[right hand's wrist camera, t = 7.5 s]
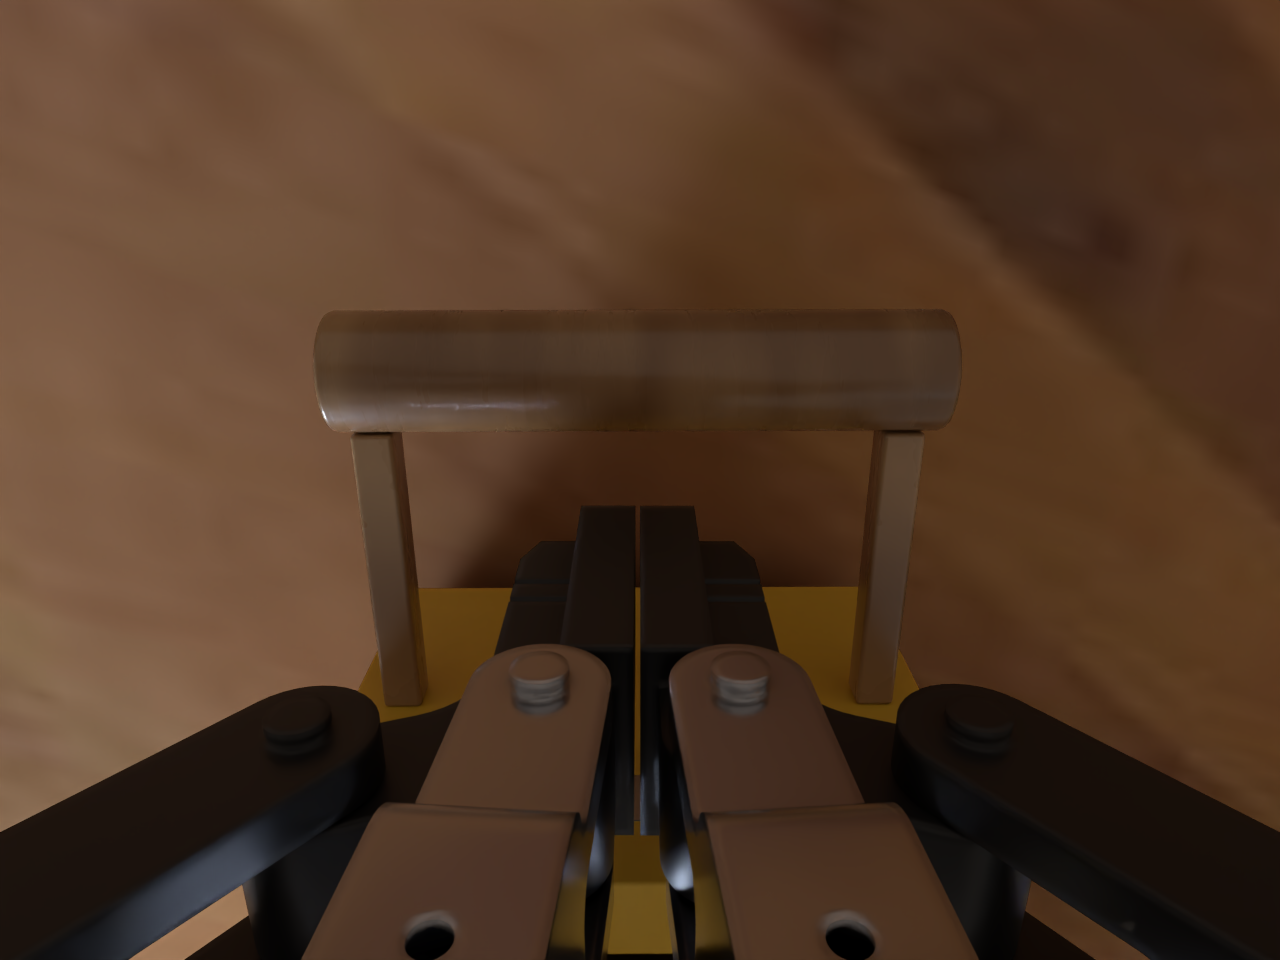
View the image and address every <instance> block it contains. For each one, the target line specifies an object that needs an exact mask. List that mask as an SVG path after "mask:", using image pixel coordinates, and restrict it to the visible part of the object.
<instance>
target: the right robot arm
mask: <svg viewBox="0 0 1280 960" xmlns="http://www.w3.org/2000/svg"><path fill="white" fill-rule="evenodd" d="M635 646H636V593H635V506H581V511H580V517H579V524H578V530H577V537H576V541H541V542H540V543H539V544H538V545H536V546H535V547H534V548H533V549H532V550H531V551H529V552H528V553H527V554H526V555H525V556H524V557H522V558H521V559H520V563H519V566H518V570H517V574H516V577H515V584H513V588H512V592H511V595H510V602H508V606H507V609H506V613H505V617H504V620H503V624H502V627H501V631H500V635H499V638H498V642H497V645H496V649H495V653H494V656H493V657H491V658H490V659H488V660H486V661H485V662H484V663H483V664H481V665H480V666H479V667H478V668H477V669H476V670H475V671H474V673H473V674H472V676H471V678H470V679H469V682H468V684H467V686H466V688H465V691H464V693H463V695H462V698H461V699H460V700H458V701H457V702H454V703H452V704H450V705H448V706H446V707H443V708H440V709H437V710H435V711H432V712H428V713H424V714H420V715H415V716H411V717H406V718H401V719H396V720H391V721H386V722H381V723H380V715H379V711H378V709H377V706H376V705H375V704H374V702H373V701H372V700H371V699H370V698H368V697H367V696H366V695H364V694H362V693H360V692H358V691H356V690H352V689H349V688H344V687H337V686H311V687H304V688H298V689H293V690H289V691H285V692H282V693H279V694H276V695H273V696H270V697H268V698H266V699H263V700H261V701H259V702H257V703H255V704H253V705H251V706H249V707H247V708H245V709H243V710H241V711H239V712H237V713H235V714H233V715H231V716H229V717H227V718H225V719H223V720H221V721H219V722H217V723H215V724H213V725H211V726H209V727H207V728H205V729H203V730H201V731H199V732H197V733H195V734H193V735H192V736H190V737H188V738H186V739H184V740H182V741H180V742H178V743H176V744H174V745H172V746H170V747H168V748H166V749H164V750H162V751H160V752H158V753H156V754H154V755H152V756H150V757H148V758H146V759H144V760H142V761H140V762H138V763H136V764H134V765H132V766H130V767H128V768H126V769H124V770H122V771H120V772H118V773H116V774H114V775H113V776H111V777H109V778H107V779H105V780H103V781H101V782H99V783H97V784H95V785H93V786H91V787H89V788H87V789H85V790H83V791H81V792H79V793H77V794H75V795H73V796H71V797H69V798H67V799H65V800H63V801H61V802H59V803H57V804H55V805H53V806H51V807H49V808H47V809H45V810H43V811H41V812H39V813H37V814H36V815H34V816H32V817H30V818H28V819H26V820H24V821H22V822H20V823H18V824H16V825H14V826H12V827H10V828H8V829H6V830H4V831H2V832H0V960H129V959H130V958H131V957H133V956H134V955H136V954H137V953H139V952H140V951H142V950H143V949H145V948H146V947H148V946H149V945H151V944H152V943H154V942H155V941H157V940H158V939H160V938H161V937H163V936H164V935H166V934H167V933H169V932H170V931H172V930H173V929H175V928H176V927H178V926H180V925H181V924H183V923H184V922H186V921H187V920H189V919H190V918H192V917H193V916H195V915H196V914H198V913H199V912H201V911H202V910H204V909H205V908H207V907H208V906H210V905H211V904H213V903H214V902H216V901H217V900H219V899H221V898H222V897H224V896H225V895H227V894H228V893H230V892H231V891H233V890H234V889H236V888H237V887H239V886H240V885H242V886H243V890H244V895H245V900H246V904H247V909H248V914H249V916H247V917H246V918H244V919H243V920H241V921H240V922H238V923H237V924H235V925H234V926H233V927H231V928H230V929H228V930H227V931H225V932H224V933H222V934H221V935H220V936H218V937H217V938H215V939H214V940H212V941H211V942H209V943H208V944H206V945H205V946H204V947H202V948H201V949H199V950H198V951H196V952H195V953H193V954H192V955H191V956H189V957H188V958H186V959H185V960H607V953H608V946H609V938H610V930H611V922H612V914H613V906H614V835H634V765H635ZM640 836H659V847H660V863H661V868H662V870H663V873H664V875H665V877H666V906H667V914H668V922H669V930H670V938H671V946H672V953H673V960H1095V959H1094V958H1092V957H1091V956H1089V955H1088V954H1087V953H1085V952H1084V951H1082V950H1081V949H1079V948H1078V947H1076V946H1075V945H1073V944H1072V943H1071V942H1069V941H1068V940H1066V939H1065V938H1063V937H1062V936H1060V935H1059V934H1058V933H1056V932H1055V931H1053V930H1052V929H1050V928H1049V927H1047V926H1046V925H1044V924H1043V923H1042V922H1040V921H1039V920H1037V919H1036V918H1034V917H1033V916H1031V915H1030V914H1029V913H1027V912H1026V911H1025V909H1026V904H1027V899H1028V894H1029V890H1030V885H1031V880H1032V881H1034V882H1035V883H1037V884H1038V885H1040V886H1041V887H1043V888H1044V889H1046V890H1047V891H1049V892H1050V893H1052V894H1053V895H1055V896H1056V897H1058V898H1059V899H1061V900H1062V901H1064V902H1066V903H1067V904H1069V905H1070V906H1072V907H1073V908H1075V909H1076V910H1078V911H1079V912H1081V913H1082V914H1084V915H1085V916H1087V917H1088V918H1090V919H1091V920H1093V921H1094V922H1096V923H1097V924H1099V925H1100V926H1102V927H1103V928H1105V929H1107V930H1108V931H1110V932H1111V933H1113V934H1114V935H1116V936H1117V937H1119V938H1120V939H1122V940H1123V941H1125V942H1126V943H1128V944H1129V945H1131V946H1132V947H1134V948H1135V949H1137V950H1138V951H1140V952H1141V953H1142V954H1144V955H1145V956H1147V957H1148V958H1149V959H1150V960H1280V832H1278V831H1276V830H1274V829H1272V828H1270V827H1268V826H1266V825H1264V824H1262V823H1260V822H1258V821H1256V820H1254V819H1252V818H1250V817H1248V816H1246V815H1244V814H1242V813H1241V812H1239V811H1237V810H1235V809H1233V808H1231V807H1229V806H1227V805H1225V804H1223V803H1221V802H1219V801H1217V800H1215V799H1213V798H1211V797H1209V796H1207V795H1205V794H1203V793H1201V792H1199V791H1197V790H1195V789H1193V788H1191V787H1189V786H1187V785H1185V784H1183V783H1181V782H1179V781H1177V780H1175V779H1173V778H1171V777H1169V776H1167V775H1165V774H1163V773H1162V772H1160V771H1158V770H1156V769H1154V768H1152V767H1150V766H1148V765H1146V764H1144V763H1142V762H1140V761H1138V760H1136V759H1134V758H1132V757H1130V756H1128V755H1126V754H1124V753H1122V752H1120V751H1118V750H1116V749H1114V748H1112V747H1110V746H1108V745H1106V744H1104V743H1102V742H1100V741H1098V740H1096V739H1094V738H1092V737H1090V736H1088V735H1086V734H1085V733H1083V732H1081V731H1079V730H1077V729H1075V728H1073V727H1071V726H1069V725H1067V724H1065V723H1063V722H1061V721H1059V720H1057V719H1055V718H1053V717H1051V716H1049V715H1047V714H1045V713H1043V712H1041V711H1039V710H1037V709H1035V708H1033V707H1031V706H1029V705H1027V704H1025V703H1023V702H1021V701H1019V700H1017V699H1015V698H1013V697H1010V696H1008V695H1006V694H1003V693H1000V692H997V691H994V690H991V689H987V688H983V687H978V686H971V685H963V684H940V685H933V686H928V687H925V688H921V689H919V690H917V691H915V692H913V693H911V694H910V695H908V696H907V697H906V698H905V699H904V700H903V701H902V702H901V704H900V706H899V708H898V711H897V717H896V724H895V723H890V722H885V721H881V720H876V719H871V718H866V717H861V716H856V715H852V714H848V713H844V712H841V711H838V710H835V709H832V708H829V707H827V706H825V705H823V704H821V702H820V700H819V698H818V695H817V693H816V691H815V688H814V686H813V684H812V682H811V679H810V678H809V676H808V674H807V673H806V671H805V670H804V669H803V668H802V667H801V666H800V665H799V664H797V663H796V662H795V661H794V660H792V659H790V658H789V657H787V656H785V655H783V654H781V653H779V649H778V645H777V641H776V638H775V634H774V630H773V626H772V623H771V619H770V615H769V612H768V608H767V604H766V602H765V597H764V593H763V589H762V585H761V584H760V578H759V574H758V570H757V567H756V563H755V559H754V558H753V557H751V556H750V555H749V554H748V553H747V552H746V551H744V550H743V549H742V548H741V547H740V546H739V545H737V544H736V543H735V542H734V541H699V537H698V530H697V523H696V516H695V510H694V506H640Z"/></svg>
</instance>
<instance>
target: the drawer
mask: <svg viewBox="0 0 1280 960" xmlns="http://www.w3.org/2000/svg"><path fill="white" fill-rule="evenodd" d="M961 374H962V353H961V344H960V337H959V332H958V329H957V325H956V323H955V320H954V319H953V317H952V315H951V314H950V313H949V312H947V311H945V310H942V309H785V310H425V311H331V312H329V313H327V314H326V315H324V317H323V318H322V320H321V322H320V324H319V326H318V330H317V333H316V338H315V344H314V353H313V376H314V386H315V392H316V397H317V401H318V405H319V409H320V412H321V414H322V417H323V419H324V421H325V422H326V424H327V425H328V427H329V428H331V429H332V430H334V431H337V432H354V433H353V434H352V435H351V438H350V441H351V449H352V456H353V464H354V472H355V479H356V487H357V495H358V502H359V510H360V518H361V525H362V533H363V541H364V549H365V556H366V564H367V572H368V579H369V587H370V595H371V602H372V610H373V618H374V625H375V633H376V641H377V649H378V651H377V653H376V655H375V657H374V659H373V661H372V663H371V665H370V667H369V669H368V671H367V673H366V675H365V677H364V679H363V681H362V683H361V686H360V688H359V690H358V692H360V693H362V694H364V695H366V696H367V697H368V698H370V699H371V700H372V701H373V702H374V704H375V705H376V706H377V709H378V711H379V715H380V723H381V722H386V721H391V720H396V719H401V718H406V717H411V716H415V715H420V714H424V713H428V712H432V711H435V710H437V709H440V708H443V707H446V706H448V705H450V704H452V703H454V702H457V701H458V700H460V699H461V698H462V695H463V693H464V691H465V688H466V686H467V684H468V682H469V679H470V678H471V676H472V674H473V673H474V671H475V670H476V669H477V668H478V667H479V666H480V665H481V664H483V663H484V662H485V661H486V660H488V659H490V658H491V657H493V656H494V653H495V649H496V645H497V642H498V638H499V635H500V631H501V627H502V624H503V620H504V617H505V613H506V609H507V606H508V602H510V595H511V592H512V588H418V581H417V572H416V562H415V553H414V544H413V534H412V525H411V516H410V506H409V497H408V488H407V478H406V469H405V460H404V450H403V441H402V432H557V431H863V430H874V437H873V447H872V457H871V466H870V476H869V486H868V496H867V506H866V516H865V526H864V536H863V546H862V555H861V565H860V575H859V585H858V587H762V589H763V593H764V597H765V602H766V604H767V608H768V612H769V615H770V619H771V623H772V626H773V630H774V634H775V638H776V641H777V645H778V649H779V653H781V654H783V655H785V656H787V657H789V658H790V659H792V660H794V661H795V662H796V663H797V664H799V665H800V666H801V667H802V668H803V669H804V670H805V671H806V673H807V674H808V676H809V678H810V679H811V682H812V684H813V686H814V688H815V691H816V693H817V695H818V698H819V700H820V702H821V704H823V705H825V706H827V707H829V708H832V709H835V710H838V711H841V712H844V713H848V714H852V715H856V716H861V717H866V718H871V719H876V720H881V721H885V722H890V723H895V724H896V717H897V711H898V708H899V706H900V704H901V702H902V701H903V700H904V699H905V698H906V697H907V696H908V695H910V694H911V693H913V692H915V691H917V690H919V688H918V686H917V684H916V682H915V680H914V678H913V676H912V674H911V672H910V670H909V668H908V666H907V664H906V662H905V660H904V658H903V656H902V654H901V652H900V650H899V643H900V635H901V627H902V619H903V611H904V602H905V594H906V586H907V578H908V570H909V562H910V554H911V546H912V538H913V530H914V522H915V514H916V506H917V497H918V489H919V481H920V473H921V465H922V457H923V449H924V441H925V436H924V433H923V432H922V431H921V430H939V429H941V428H943V427H945V426H946V425H947V424H948V423H949V421H950V419H951V417H952V415H953V413H954V410H955V407H956V404H957V400H958V396H959V391H960V385H961ZM635 593H636V646H635V765H634V835H614V906H613V914H612V922H611V930H610V938H609V946H608V953H607V960H673V953H672V946H671V938H670V930H669V922H668V914H667V906H666V877H665V875H664V873H663V870H662V868H661V863H660V847H659V836H640V587H635Z"/></svg>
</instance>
